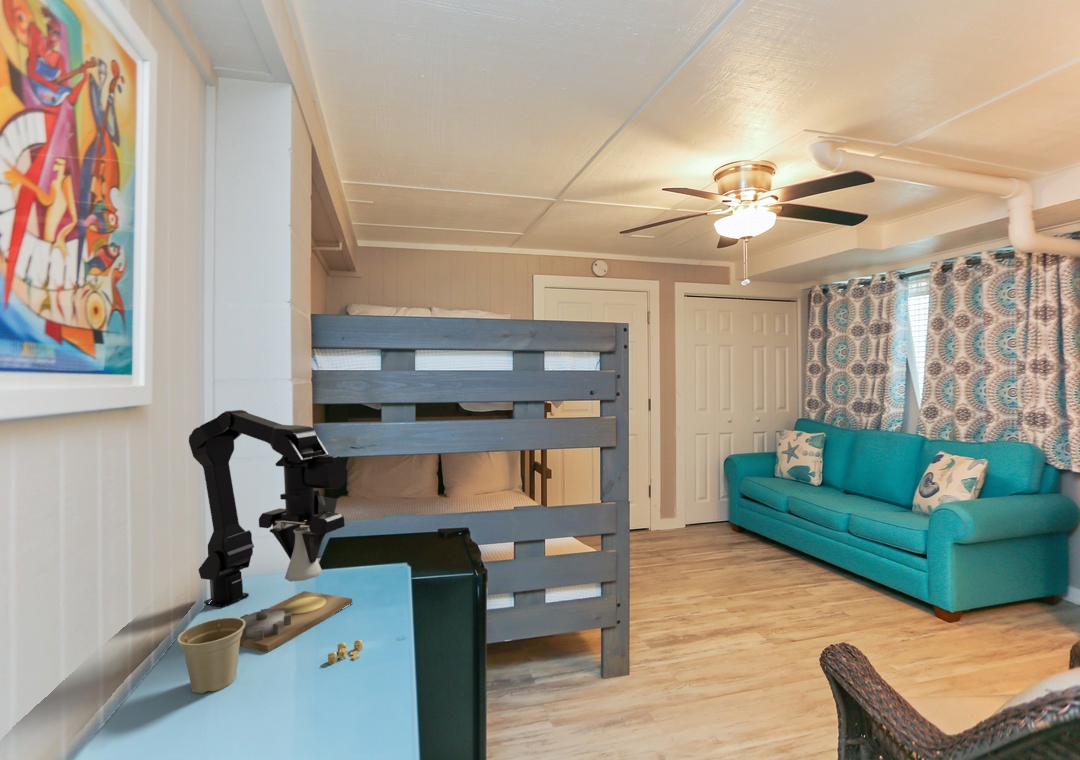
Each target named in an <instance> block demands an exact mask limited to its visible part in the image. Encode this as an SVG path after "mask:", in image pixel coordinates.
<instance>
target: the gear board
mask: <svg viewBox="0 0 1080 760" xmlns="http://www.w3.org/2000/svg"><path fill="white" fill-rule="evenodd" d="M351 603H352V604H353V598H350V597H344V596H338V595H330V594H325V593H318V592H311V591H305V590H304V591H301V592H299V593H297V594H295V595H293V596H292V597H289V598H287V599H285V600H283V601H281V602H279V603H277V604H275V605H273V606H270V607H267V608H263V609H260V610H259V611H255V612H252V613H249V614H244V615H242V616H239V618H241V619H243V620H244V621H245V627H244V629H243V632H242V636H241V637H240V645H239V647H244V648H248V649H252V650H257V651H262V652H265V653H269V652H272V651H273V650H275V649H277V648H279V647H281V646H282V645H284V644H285V643H287V642H289V641H290V640H292V639H294V638H295V637H297V636H299V635H301V634H303V633H304V632H307V631H308V630H309V629H312V628H313V627H315V626H317V625H319V624H320V623H322V622H324V621H326V620H327V619H329V618H330V616H331V617H332V615H333V614H334V613H336V612H338V611H339V610H341V609H342V608H344V607H345V606H347V605H349V604H351ZM341 611H342V610H341ZM338 613H339V612H338ZM336 614H337V613H336ZM334 615H335V614H334ZM334 615H333V616H334Z"/></svg>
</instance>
